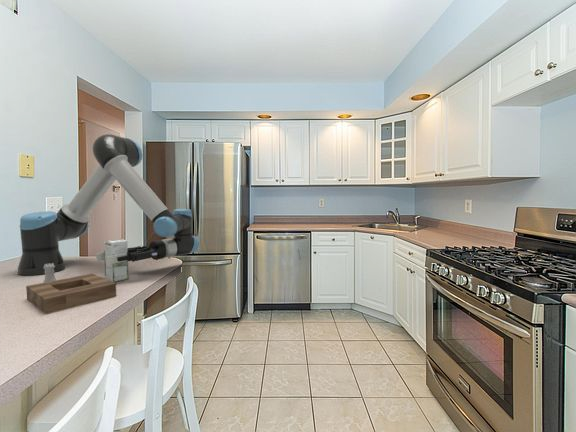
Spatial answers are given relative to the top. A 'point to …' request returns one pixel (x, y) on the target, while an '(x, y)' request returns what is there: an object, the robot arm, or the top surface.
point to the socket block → (70, 292)
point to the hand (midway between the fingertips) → (101, 258)
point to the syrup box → (117, 269)
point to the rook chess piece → (49, 272)
